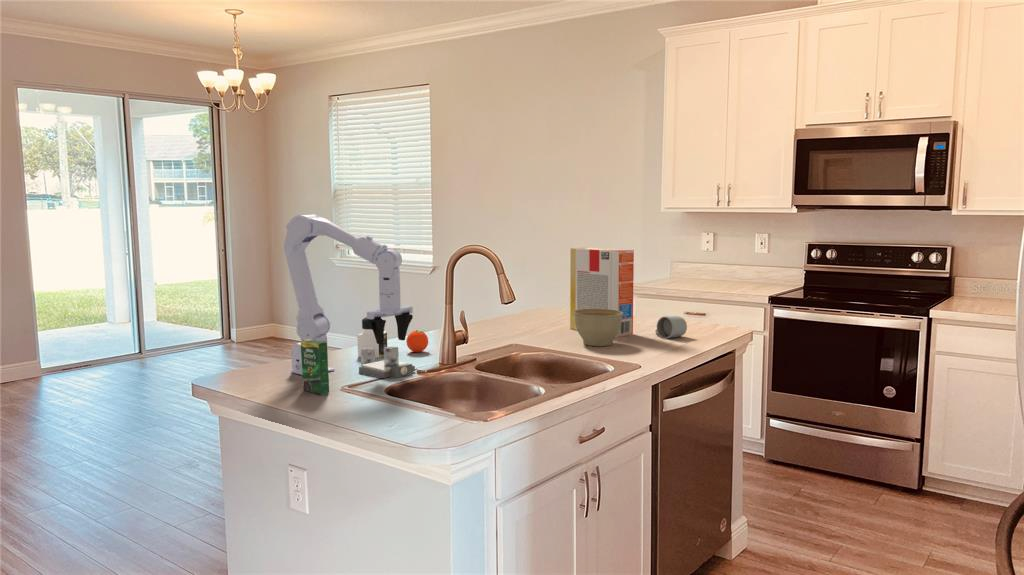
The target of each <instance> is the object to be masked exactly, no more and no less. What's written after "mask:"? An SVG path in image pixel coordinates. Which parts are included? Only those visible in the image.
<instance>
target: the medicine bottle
mask: <svg viewBox="0 0 1024 575" xmlns="http://www.w3.org/2000/svg"><path fill="white" fill-rule="evenodd" d="M361 328H362V330H361V331H362V332H361V333H359V334H357V335H356V336H357V338H356V339H357V358H361V349H363V348H375V359H380V358H382V357H384V348H385V347H388V331H385V330H384V342H383V344H377V342H376V338H375V335H374V332H373V330H372V328H371V326H370V324H369V323H368V319H367V316H366V317H363V318H362V320H361Z"/></svg>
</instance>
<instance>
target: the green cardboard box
mask: <svg viewBox="0 0 1024 575" xmlns="http://www.w3.org/2000/svg"><path fill="white" fill-rule="evenodd" d="M299 342H300V343H301V358H302V375H301V376H302V387H303V391H304V392H308V393H312V394H316V395H320V396H323V395H327V394H329V393H330V380H329V379H330V378H329V371H328V367H329V356H328V355H327V348H328V341H327V342H324V341H316V340H310V339H307V340H302V341H301V340H300V341H299Z"/></svg>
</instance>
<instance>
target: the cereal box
mask: <svg viewBox="0 0 1024 575" xmlns="http://www.w3.org/2000/svg"><path fill="white" fill-rule="evenodd" d="M634 254H635V250H634V249H622V248H621V249H620V248H606V247H605V248H600V247H572V248H570V254H569V255H570V257H569V258H570V260H569V261H570V278H569V279H570V281H569V282H570V284H569V286H570V291H569V292H570V296H569V297H570V298H569V300H570V305H569V306H570V309H569V310H570V311H569V312H570V314H569V316H570V317H569V318H570V320H569V321H570V323H569V324H570V326H569V327H570V330H573V329H574V331H578V330H577V328H576V324H575V316H574V311H575V310H580V309H612V310H618V311H621V312H623V316H622V323H621V327H620V330H619V332H618V334H617V335H616V337H615V338H620V337H626V336H631V335H633V334H634V278H635V277H634V274H635V273H634V269H635V268H634V266H635V264H634V263H635V262H634V260H635V259H634V258H635V257H634Z"/></svg>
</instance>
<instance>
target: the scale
mask: <svg viewBox="0 0 1024 575" xmlns="http://www.w3.org/2000/svg"><path fill="white" fill-rule="evenodd" d="M413 371H416V366H415V365H413V363H410V362H405V361H401V360H399V365H397V366H393V367H385V366H384V359H383V360H379V361H375V362H373V363H368V364H363V365H361V364H360V366H359V367H358V373H359V374H364V375H366V376H367V375H368V376H371V377H376V378H378V379H379V378H380V379H383V378H384V379H388V377H389V378H394V379H397V378H401V377H405V376H410V375H413V373H414V372H413Z"/></svg>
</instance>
